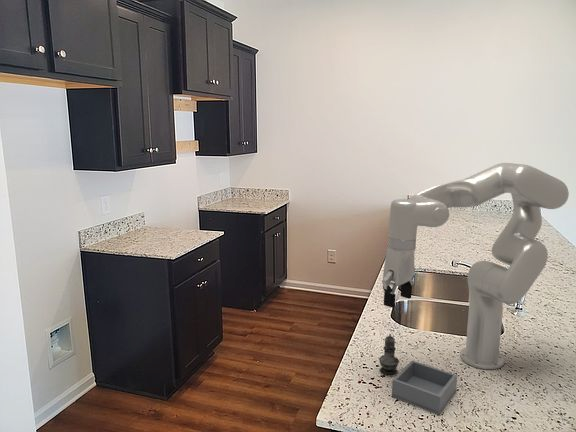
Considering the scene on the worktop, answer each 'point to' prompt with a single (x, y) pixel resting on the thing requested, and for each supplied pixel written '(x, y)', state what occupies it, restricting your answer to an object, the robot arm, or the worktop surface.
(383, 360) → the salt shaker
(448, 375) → the bin
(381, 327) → the worktop surface
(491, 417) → the worktop surface
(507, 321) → the worktop surface
